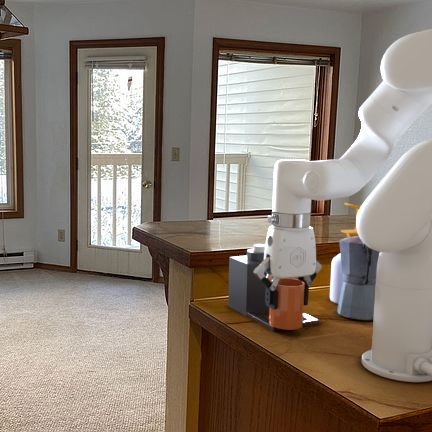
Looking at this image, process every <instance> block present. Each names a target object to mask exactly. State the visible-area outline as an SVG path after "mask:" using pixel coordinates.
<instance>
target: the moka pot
mask: <svg viewBox="0 0 432 432" xmlns="http://www.w3.org/2000/svg"><path fill="white" fill-rule="evenodd" d="M339 250H340V253H341V266H342V272H343V280H344V282H343V284H342V290H341V294H340V299H339V304H337V308H336V309H337V310H336V312H337V314H338V316H339V315H340V316H341V317H344V318H345V319H352V320H357V321H373V319H374V303H375V287H376V272H377V263H378V257H379V253H380V252H379V251H375V250H373V249H371V248H369V247H368V246H366V245H365V244H364V243H363V242H362V241H361V239H360V238H359V236H356V237H344V238H341V239H340V240H339Z"/></svg>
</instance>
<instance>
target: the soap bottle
mask: <svg viewBox="0 0 432 432" xmlns="http://www.w3.org/2000/svg"><path fill="white" fill-rule="evenodd" d="M344 206H348V207H350V208H353V209H355V210H356V215H357V214H358V211H359V209H360V207H361V205H357V204H353V203H348V202H344ZM340 233H343V234H346V237H347V238H349V237H356V236H359V235H358V233H357V229H356V226H355V227H354V228H353V229H341V230H340ZM330 266H331V268H330V284H329V285H330V286H329V299H330V302H333V303H335V304H337V305H338V304H339V299H340V294H341V290H342V284H343V282H344V280H343V272H342V266H341V252H340V253H338V254H337V255H335V256H334V257H333V258H332V260H331V265H330Z"/></svg>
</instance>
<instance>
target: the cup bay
mask: <svg viewBox="0 0 432 432" xmlns="http://www.w3.org/2000/svg"><path fill="white" fill-rule="evenodd" d="M245 317H247V318H248V319H250V320H251V321H254V322H256V323H257V324H259V325H261V326H263V327H265V328H266V329H268V330H270V331H272V332H277V331H282V330H285V329H279V328H276V327H273V326H271V325H270V324H269V318H267V317H265V316H263V315H262V314H258V313H256V312H254V311H253V312H246V316H245ZM317 325H320V319H318V318H316V317H314V316H311V315H309V314H307V313H305V312H304V315H303V326H302V327H301V328H304V327H309V326H317Z"/></svg>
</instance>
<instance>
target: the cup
mask: <svg viewBox="0 0 432 432" xmlns="http://www.w3.org/2000/svg"><path fill="white" fill-rule="evenodd" d="M272 280H273V279H272ZM271 282H272V281H271ZM275 290H277V291H278V302H277V309H272V308H270V307H269V313H268V319H269V324H270V325H271V326H273V327H276V328H279V329H284V330H287V331H290V330H291V331H292V330H293V331H294V330H299V329H301V328H303V327H304V326H303V315H304V313H305V312H304V311H305V305H304V296H305V283H304V282H303V281H301V280H298V278H285V279H280V280H279V282H278V284H277V287H276V289H275ZM302 326H303V327H302Z"/></svg>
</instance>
